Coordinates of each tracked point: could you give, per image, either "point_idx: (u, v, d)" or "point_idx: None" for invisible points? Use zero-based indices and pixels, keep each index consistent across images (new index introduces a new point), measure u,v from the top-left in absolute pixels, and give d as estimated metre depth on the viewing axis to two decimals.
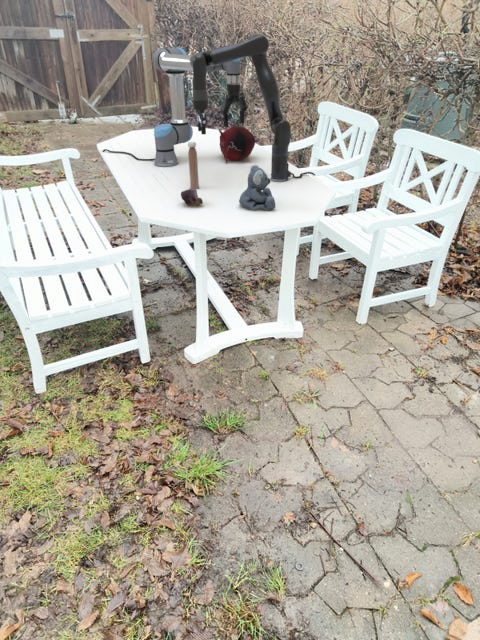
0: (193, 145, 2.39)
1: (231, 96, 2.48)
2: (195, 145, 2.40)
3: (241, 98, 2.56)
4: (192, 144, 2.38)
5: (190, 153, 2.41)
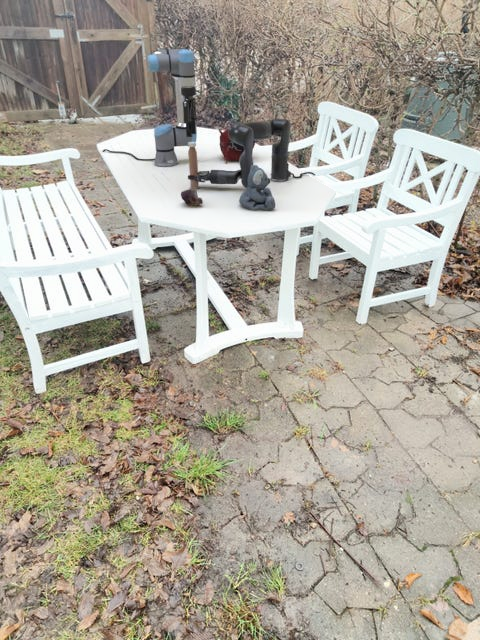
0: (193, 145, 2.39)
1: None
2: (195, 145, 2.40)
3: None
4: (192, 144, 2.38)
5: (190, 153, 2.41)
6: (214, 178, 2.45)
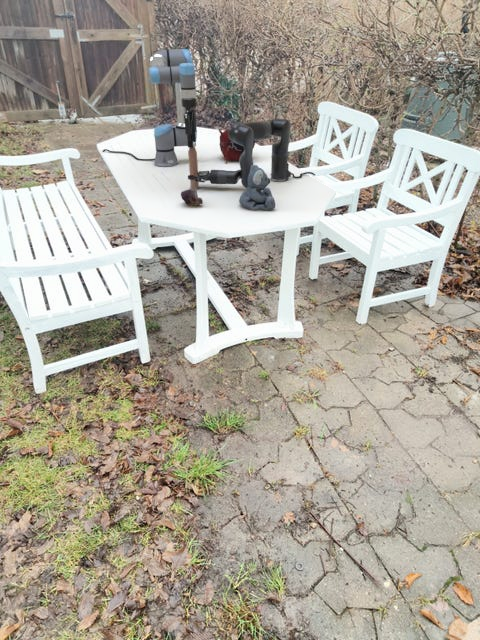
0: (193, 145, 2.39)
1: None
2: (195, 145, 2.40)
3: None
4: None
5: (190, 153, 2.41)
6: (214, 178, 2.45)
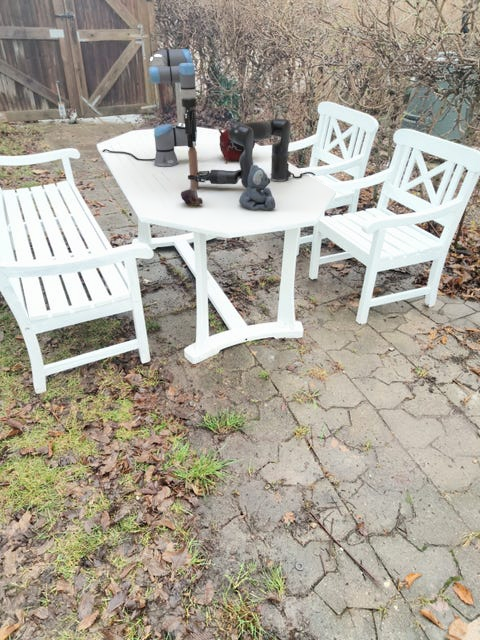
0: None
1: None
2: None
3: None
4: None
5: (190, 153, 2.41)
6: (214, 178, 2.45)
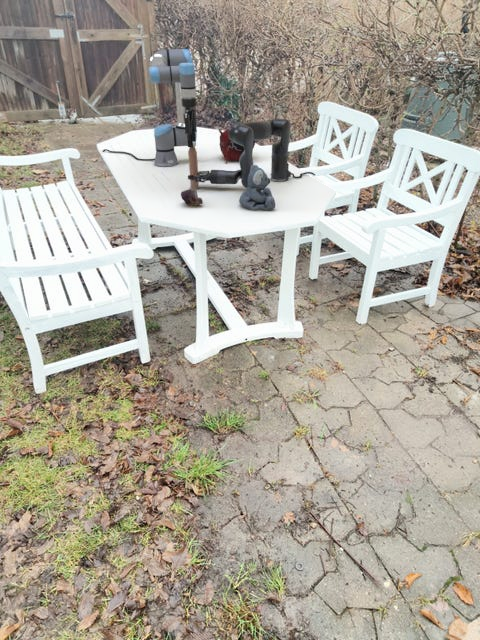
0: None
1: None
2: None
3: None
4: None
5: (190, 153, 2.41)
6: (214, 178, 2.45)
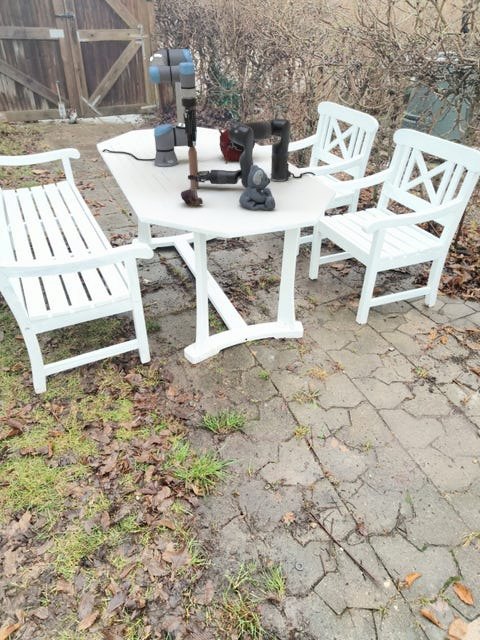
0: None
1: None
2: (193, 145, 2.39)
3: None
4: None
5: (190, 153, 2.41)
6: (214, 178, 2.45)
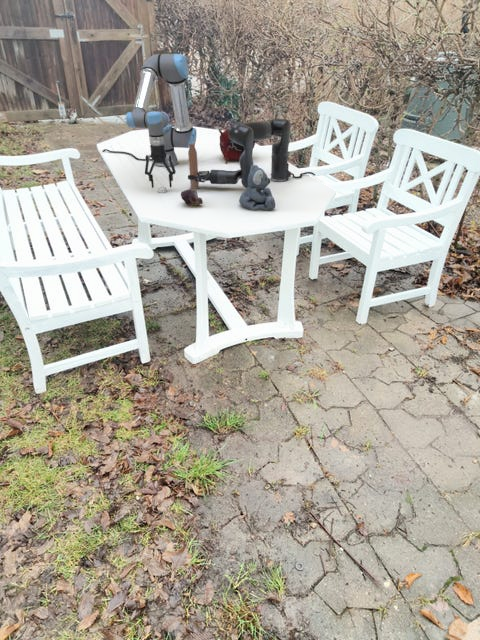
0: (165, 190, 2.49)
1: (152, 156, 2.37)
2: None
3: None
4: (165, 189, 2.48)
5: (190, 153, 2.41)
6: (214, 178, 2.45)
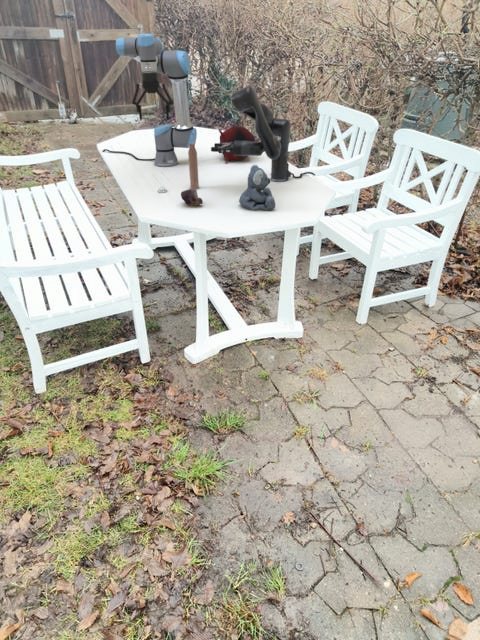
0: (165, 190, 2.49)
1: (144, 85, 2.18)
2: None
3: (164, 90, 2.21)
4: (165, 189, 2.48)
5: (190, 153, 2.41)
6: (238, 149, 2.34)
